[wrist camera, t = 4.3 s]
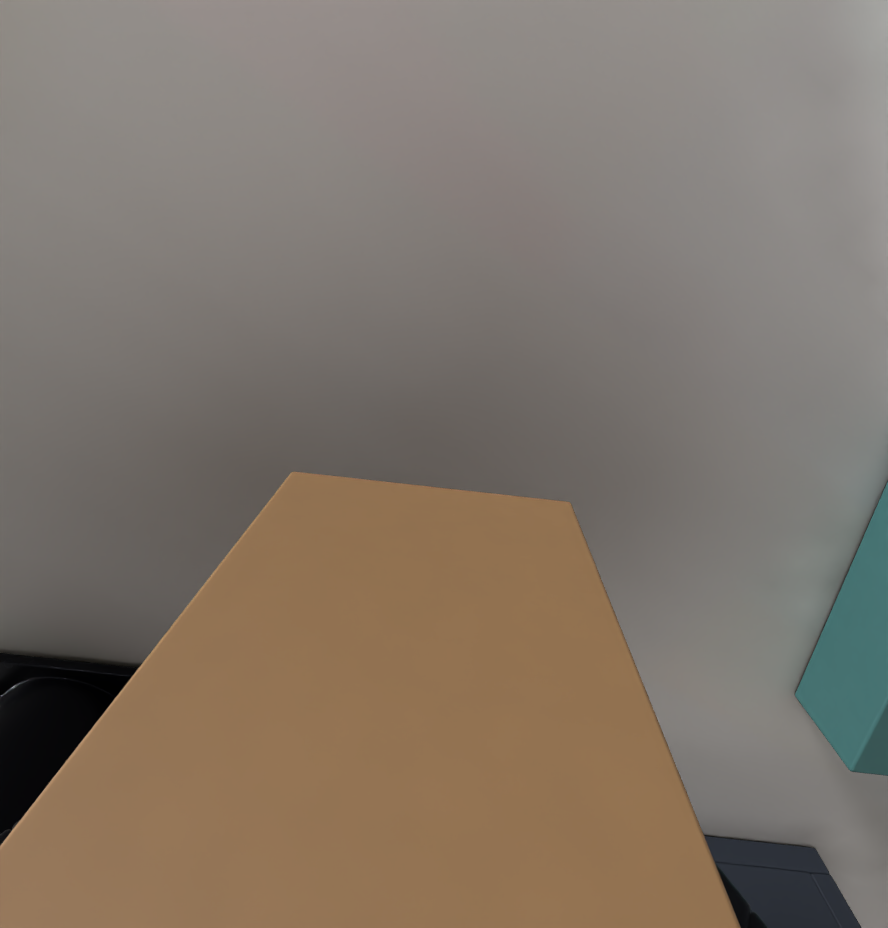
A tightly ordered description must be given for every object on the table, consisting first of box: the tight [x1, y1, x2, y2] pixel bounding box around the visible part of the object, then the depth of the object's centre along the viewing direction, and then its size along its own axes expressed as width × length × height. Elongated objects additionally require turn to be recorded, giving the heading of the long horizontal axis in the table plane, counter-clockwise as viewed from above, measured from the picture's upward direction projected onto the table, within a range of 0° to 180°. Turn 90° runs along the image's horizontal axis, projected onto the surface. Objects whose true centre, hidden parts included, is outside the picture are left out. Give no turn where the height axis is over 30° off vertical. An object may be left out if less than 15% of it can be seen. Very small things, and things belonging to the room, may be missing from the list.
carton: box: [0, 472, 741, 928], centre depth 7 cm, size 5×6×8 cm
